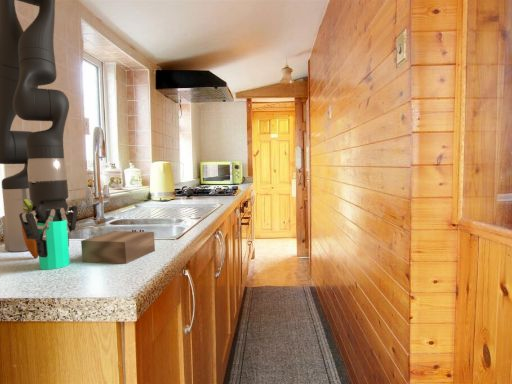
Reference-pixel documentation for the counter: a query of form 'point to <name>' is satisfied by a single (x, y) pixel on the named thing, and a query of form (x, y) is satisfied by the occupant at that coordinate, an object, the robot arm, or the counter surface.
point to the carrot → (29, 242)
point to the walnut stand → (117, 247)
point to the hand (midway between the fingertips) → (54, 253)
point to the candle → (56, 246)
